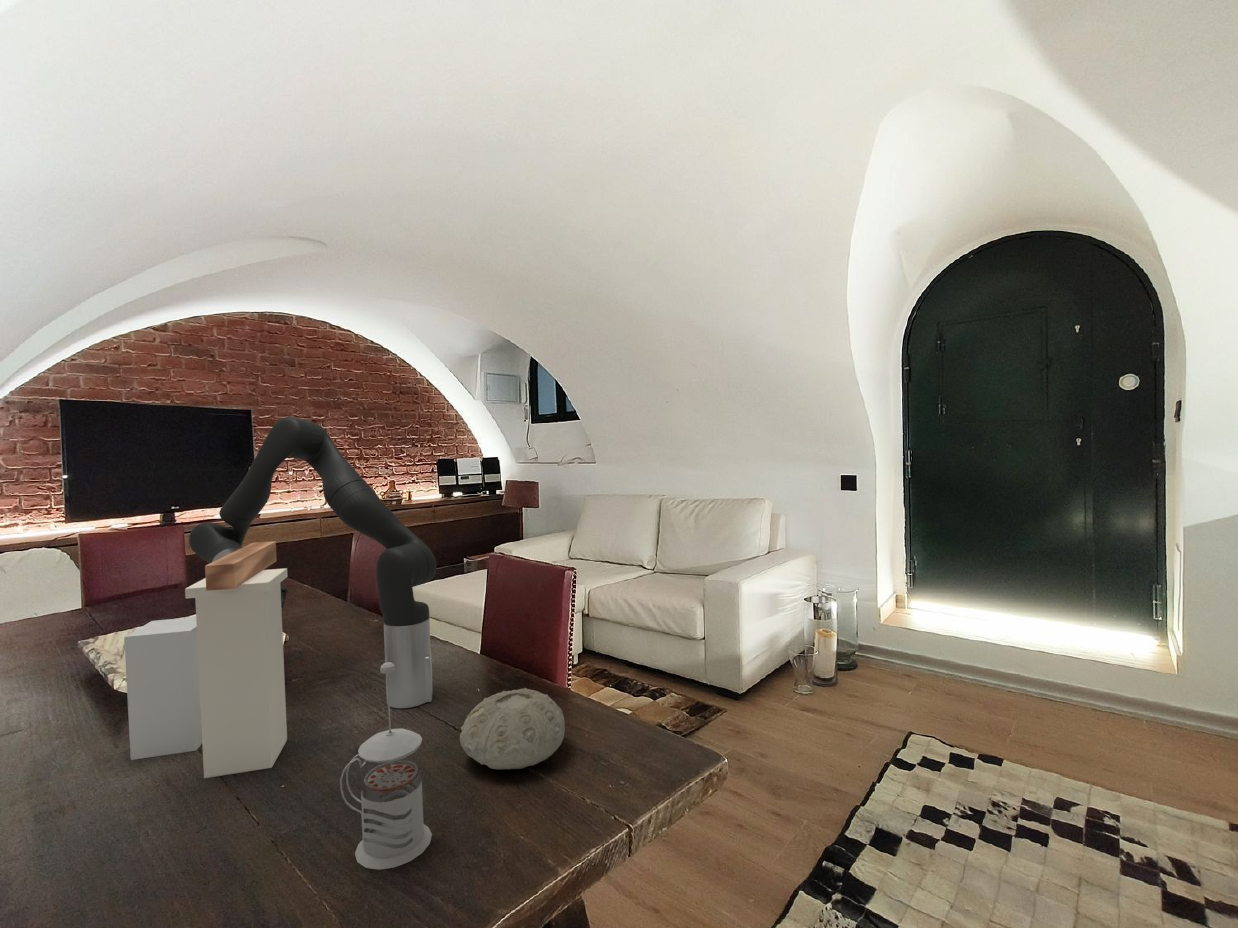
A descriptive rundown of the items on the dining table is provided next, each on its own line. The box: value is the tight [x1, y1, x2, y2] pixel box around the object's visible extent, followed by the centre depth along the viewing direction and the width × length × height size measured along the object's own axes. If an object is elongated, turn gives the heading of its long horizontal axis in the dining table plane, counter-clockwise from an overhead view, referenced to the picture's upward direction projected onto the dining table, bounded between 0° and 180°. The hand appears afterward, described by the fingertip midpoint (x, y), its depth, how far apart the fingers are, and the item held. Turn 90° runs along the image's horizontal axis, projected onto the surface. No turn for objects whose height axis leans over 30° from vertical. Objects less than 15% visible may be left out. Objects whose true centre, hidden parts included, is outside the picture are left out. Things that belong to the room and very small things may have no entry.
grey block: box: [123, 616, 202, 761], centre depth 110 cm, size 10×10×22 cm
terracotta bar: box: [204, 540, 278, 591], centre depth 106 cm, size 4×24×4 cm, turn 16°
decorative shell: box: [459, 687, 566, 770], centre depth 103 cm, size 18×18×10 cm
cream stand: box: [184, 567, 289, 779], centre depth 103 cm, size 12×12×32 cm
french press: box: [339, 662, 433, 870], centre depth 80 cm, size 10×12×25 cm
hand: (257, 607), depth 118 cm, fingers open, 8 cm apart
